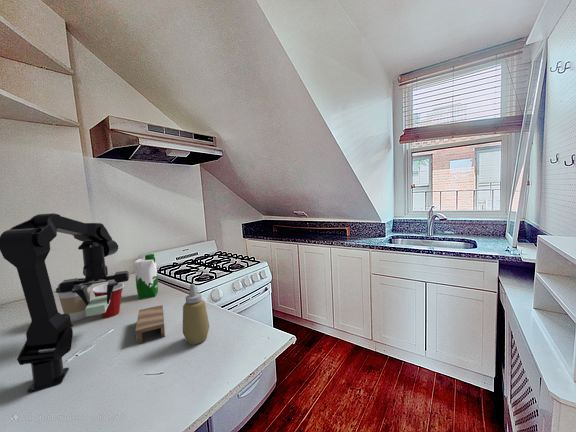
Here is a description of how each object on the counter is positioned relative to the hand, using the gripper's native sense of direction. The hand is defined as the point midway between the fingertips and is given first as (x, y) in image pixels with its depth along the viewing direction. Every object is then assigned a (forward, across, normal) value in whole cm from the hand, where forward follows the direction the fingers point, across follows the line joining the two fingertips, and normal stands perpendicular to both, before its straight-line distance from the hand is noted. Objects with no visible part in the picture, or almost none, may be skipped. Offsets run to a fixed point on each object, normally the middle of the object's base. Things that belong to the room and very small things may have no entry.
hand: (98, 305), depth 87 cm
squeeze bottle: (+11, -28, +23) cm, 38 cm away
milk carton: (+10, -14, -34) cm, 38 cm away
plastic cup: (+10, -1, -19) cm, 21 cm away
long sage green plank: (+1, 0, 0) cm, 1 cm away
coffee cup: (+10, +11, -24) cm, 28 cm away
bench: (+10, -15, +6) cm, 19 cm away
